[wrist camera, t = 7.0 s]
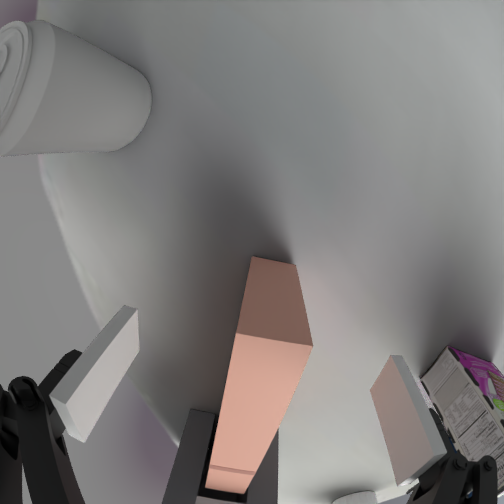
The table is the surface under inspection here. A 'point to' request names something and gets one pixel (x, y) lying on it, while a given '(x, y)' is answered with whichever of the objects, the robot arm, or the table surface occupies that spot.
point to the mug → (358, 498)
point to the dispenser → (197, 466)
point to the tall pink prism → (260, 372)
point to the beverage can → (65, 93)
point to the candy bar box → (469, 405)
